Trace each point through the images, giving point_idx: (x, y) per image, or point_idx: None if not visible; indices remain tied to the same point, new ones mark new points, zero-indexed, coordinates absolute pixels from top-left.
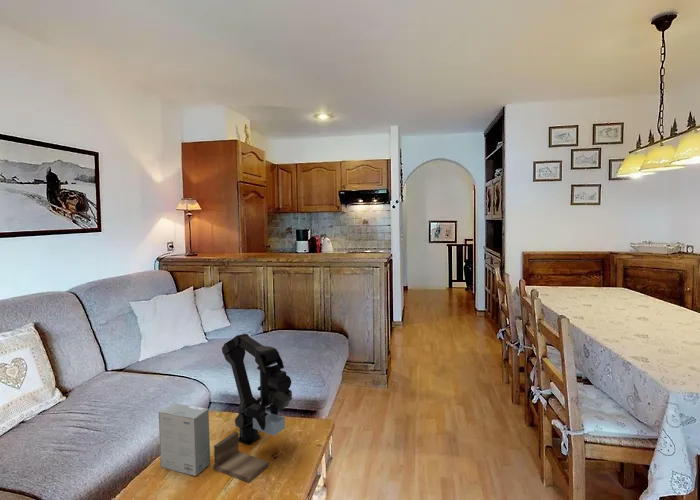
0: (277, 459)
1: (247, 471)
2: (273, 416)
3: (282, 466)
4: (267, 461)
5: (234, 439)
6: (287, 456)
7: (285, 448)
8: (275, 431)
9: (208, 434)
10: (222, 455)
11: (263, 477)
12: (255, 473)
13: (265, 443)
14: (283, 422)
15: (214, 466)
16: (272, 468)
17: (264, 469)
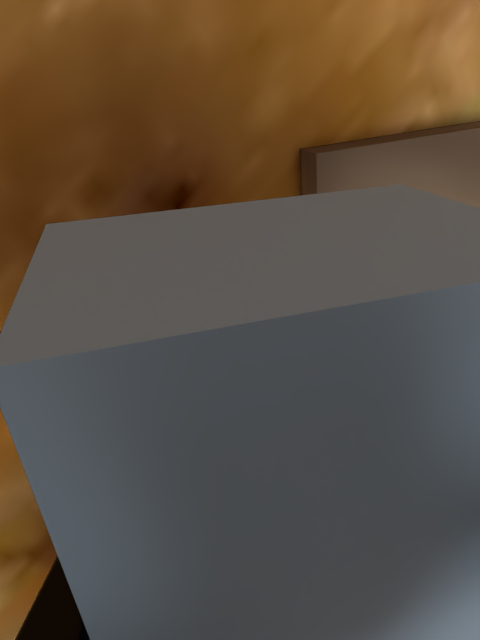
0: (187, 154)
1: (478, 200)
2: (225, 620)
3: (239, 16)
4: (318, 165)
5: None
6: (85, 101)
7: (5, 229)
8: (396, 204)
9: None
10: None
11: (432, 63)
12: (474, 127)
13: None
14: (104, 274)
15: None
16: (309, 88)
17: (352, 141)
